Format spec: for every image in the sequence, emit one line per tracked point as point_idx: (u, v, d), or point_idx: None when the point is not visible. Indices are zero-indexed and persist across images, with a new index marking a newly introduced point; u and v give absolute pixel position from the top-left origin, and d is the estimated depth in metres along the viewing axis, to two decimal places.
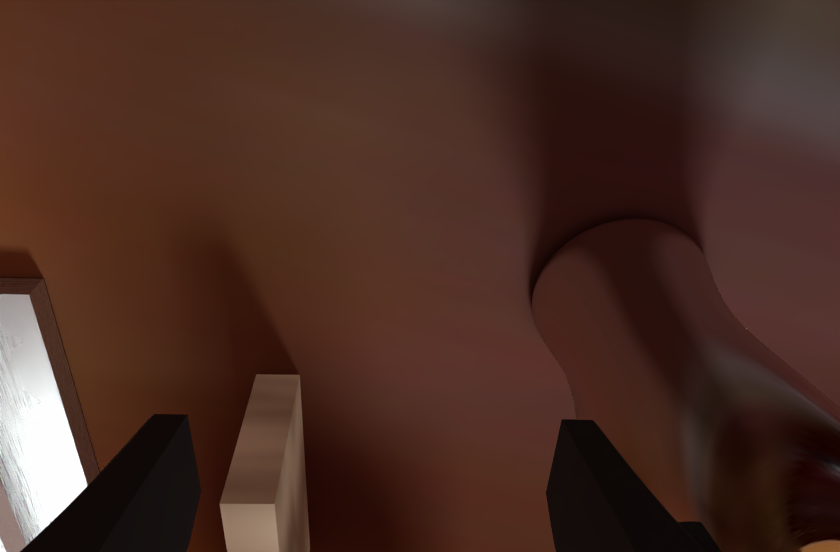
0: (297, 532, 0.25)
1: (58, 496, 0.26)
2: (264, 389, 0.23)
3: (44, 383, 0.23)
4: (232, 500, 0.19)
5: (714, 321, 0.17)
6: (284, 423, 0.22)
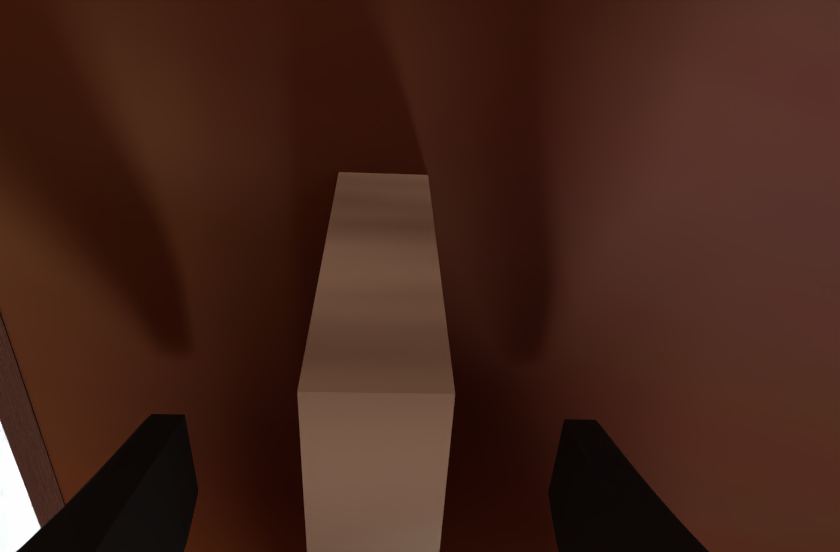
0: None
1: None
2: (361, 191, 0.11)
3: None
4: (332, 384, 0.07)
5: None
6: (422, 241, 0.10)
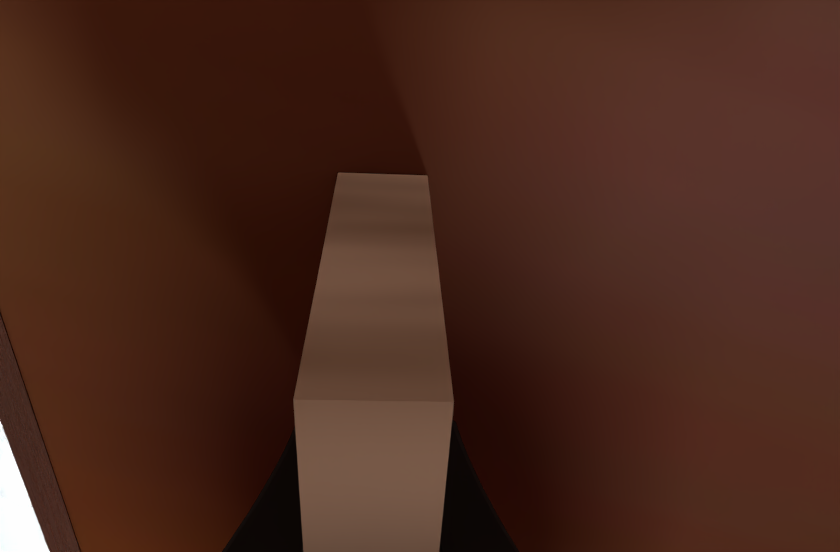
0: None
1: None
2: (360, 194, 0.11)
3: None
4: (329, 392, 0.07)
5: None
6: (422, 244, 0.09)
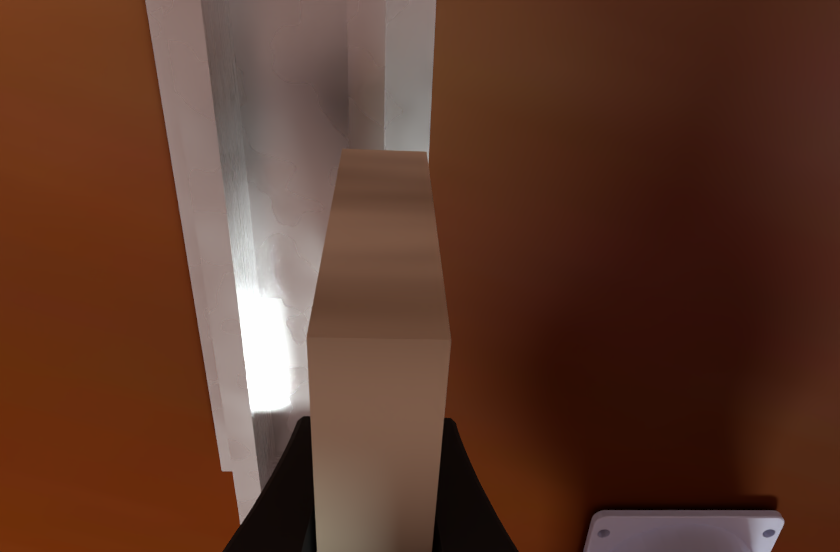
0: None
1: None
2: (363, 167, 0.12)
3: (416, 79, 0.17)
4: (338, 332, 0.07)
5: None
6: (421, 210, 0.10)
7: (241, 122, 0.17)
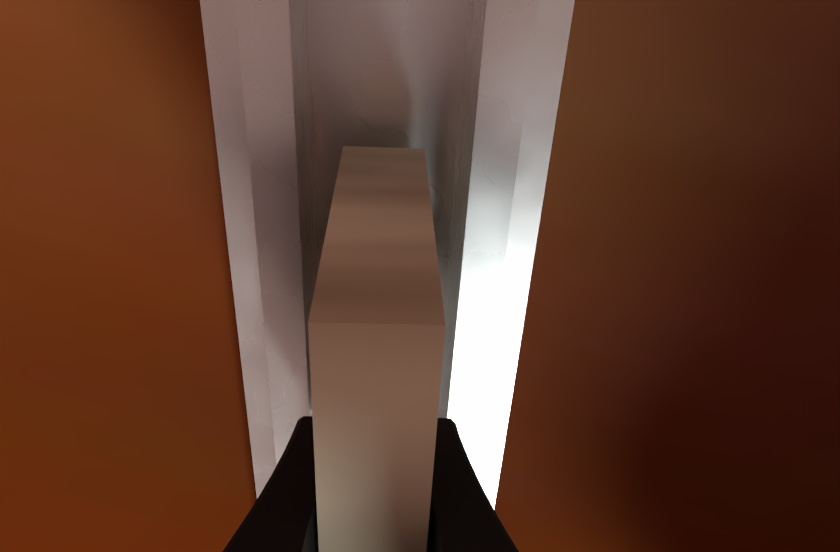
0: None
1: None
2: (363, 164, 0.12)
3: (535, 126, 0.14)
4: (338, 317, 0.08)
5: None
6: (419, 205, 0.10)
7: (314, 176, 0.14)
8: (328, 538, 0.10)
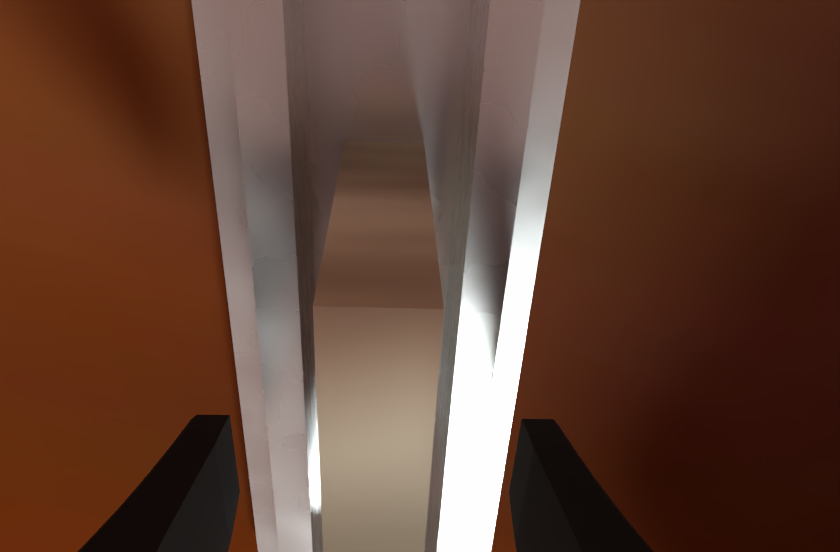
0: None
1: None
2: (365, 158, 0.12)
3: (539, 133, 0.13)
4: (341, 302, 0.08)
5: None
6: (418, 197, 0.11)
7: (311, 184, 0.13)
8: (331, 518, 0.10)
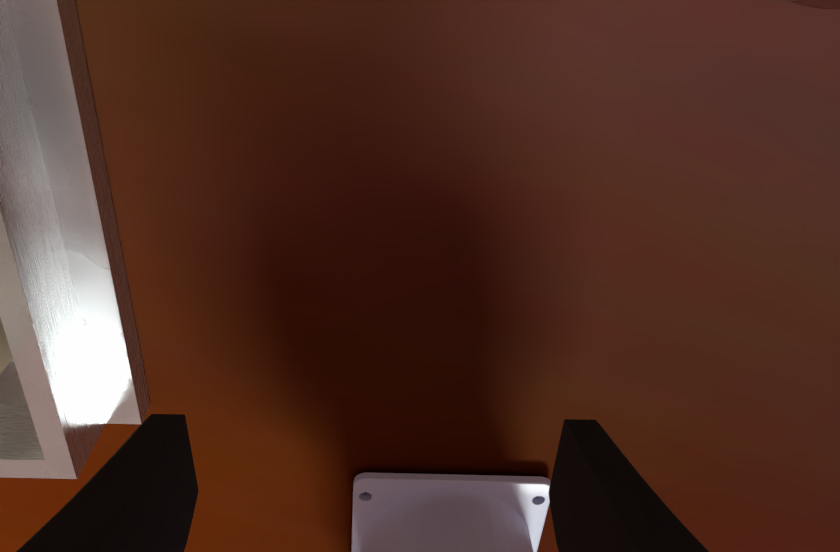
0: None
1: (51, 199, 0.18)
2: None
3: None
4: None
5: None
6: None
7: None
8: None
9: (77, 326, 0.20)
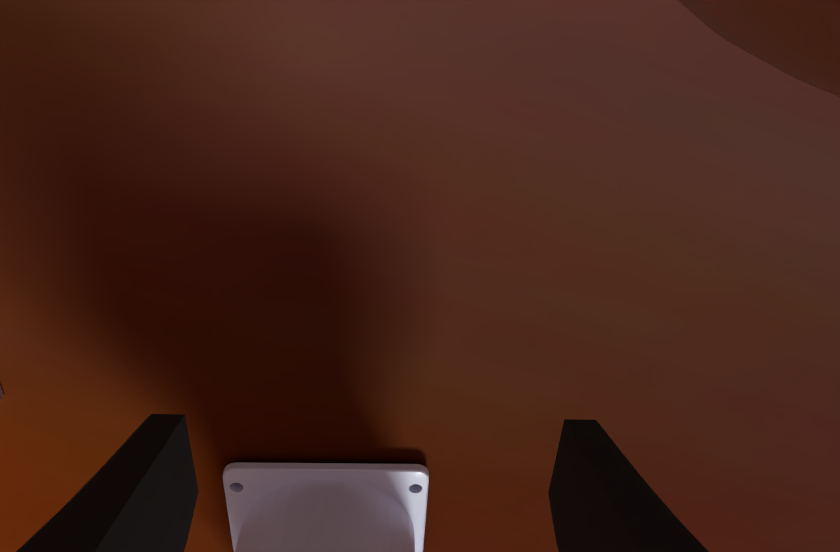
0: None
1: None
2: None
3: None
4: None
5: None
6: None
7: None
8: None
9: None
